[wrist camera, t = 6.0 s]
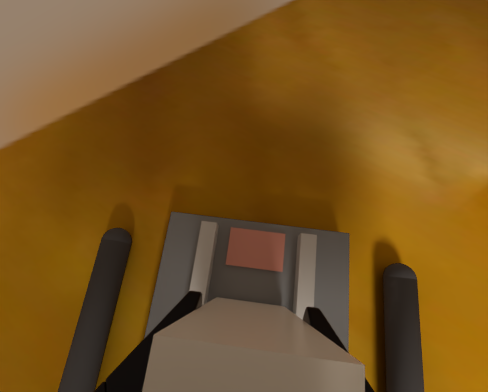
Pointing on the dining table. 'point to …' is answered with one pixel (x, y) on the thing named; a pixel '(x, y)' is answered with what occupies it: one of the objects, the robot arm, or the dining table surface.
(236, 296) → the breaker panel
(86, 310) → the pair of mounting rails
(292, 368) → the handle
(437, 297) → the dining table surface
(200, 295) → the robot arm
